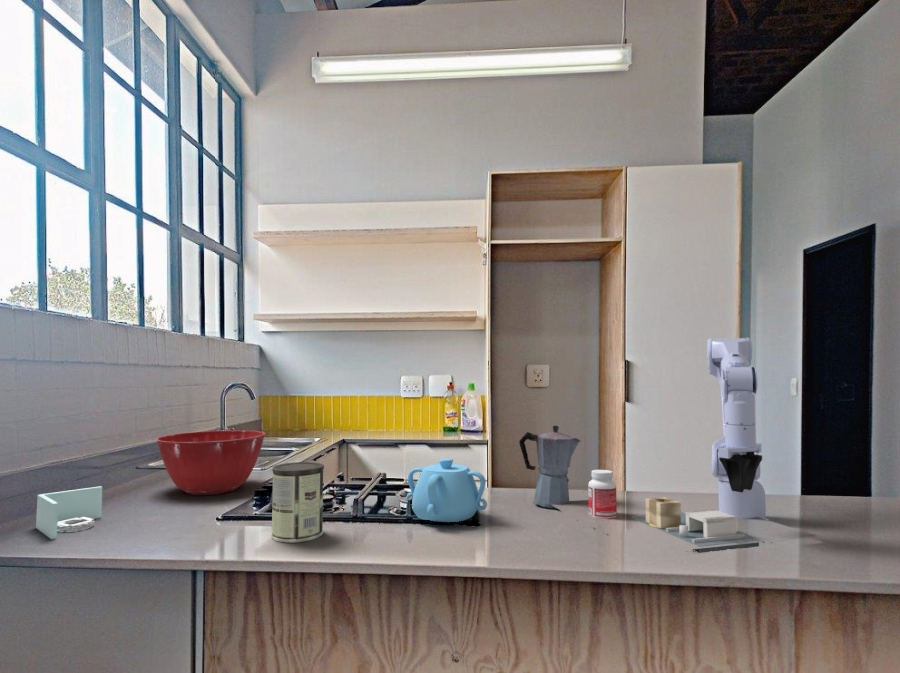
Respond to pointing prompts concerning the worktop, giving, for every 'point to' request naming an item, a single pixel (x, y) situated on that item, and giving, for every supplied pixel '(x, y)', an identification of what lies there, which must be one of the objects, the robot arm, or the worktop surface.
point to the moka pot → (551, 465)
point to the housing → (711, 522)
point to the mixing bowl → (210, 459)
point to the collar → (663, 512)
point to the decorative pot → (446, 492)
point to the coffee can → (297, 502)
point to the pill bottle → (602, 495)
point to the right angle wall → (68, 510)
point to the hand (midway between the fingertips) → (741, 490)
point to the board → (698, 536)
